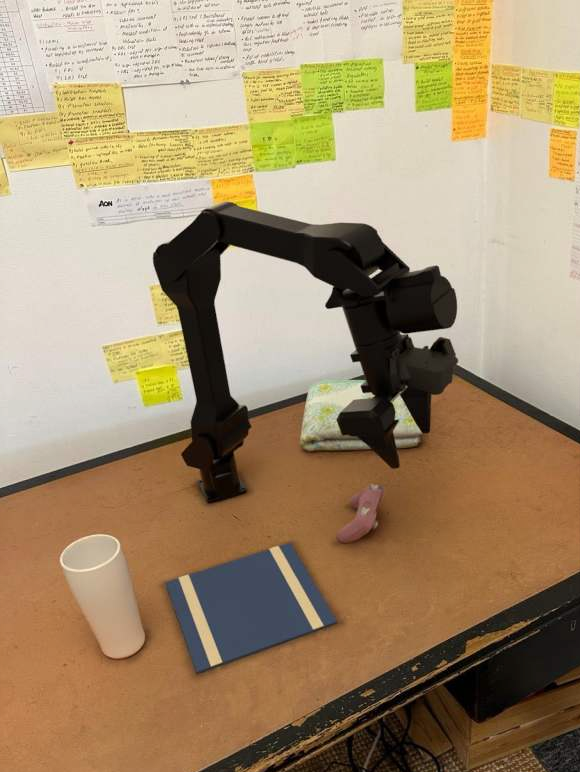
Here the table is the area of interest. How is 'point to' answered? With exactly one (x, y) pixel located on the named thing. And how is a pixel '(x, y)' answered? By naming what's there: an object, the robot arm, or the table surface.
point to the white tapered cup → (104, 593)
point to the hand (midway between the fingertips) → (411, 449)
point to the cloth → (247, 606)
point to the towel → (328, 404)
